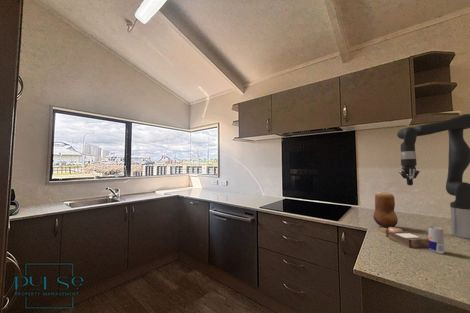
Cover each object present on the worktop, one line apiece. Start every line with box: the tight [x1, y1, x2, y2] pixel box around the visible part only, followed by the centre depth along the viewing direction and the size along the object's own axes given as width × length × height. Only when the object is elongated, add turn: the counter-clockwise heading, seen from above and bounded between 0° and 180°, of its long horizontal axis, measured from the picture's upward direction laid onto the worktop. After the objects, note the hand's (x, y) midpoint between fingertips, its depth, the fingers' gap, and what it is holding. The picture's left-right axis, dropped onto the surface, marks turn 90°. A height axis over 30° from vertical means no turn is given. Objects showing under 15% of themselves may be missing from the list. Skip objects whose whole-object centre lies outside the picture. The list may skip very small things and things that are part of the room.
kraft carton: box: [396, 232, 422, 239], centre depth 110 cm, size 9×7×4 cm
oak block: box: [378, 227, 389, 237], centre depth 123 cm, size 4×4×4 cm
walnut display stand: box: [388, 231, 429, 249], centre depth 110 cm, size 12×12×4 cm
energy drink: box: [427, 225, 445, 255], centre depth 99 cm, size 5×5×12 cm
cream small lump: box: [388, 226, 404, 232], centre depth 122 cm, size 7×7×4 cm
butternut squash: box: [372, 191, 399, 229], centre depth 137 cm, size 14×13×25 cm
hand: (410, 185), depth 125 cm, fingers closed
